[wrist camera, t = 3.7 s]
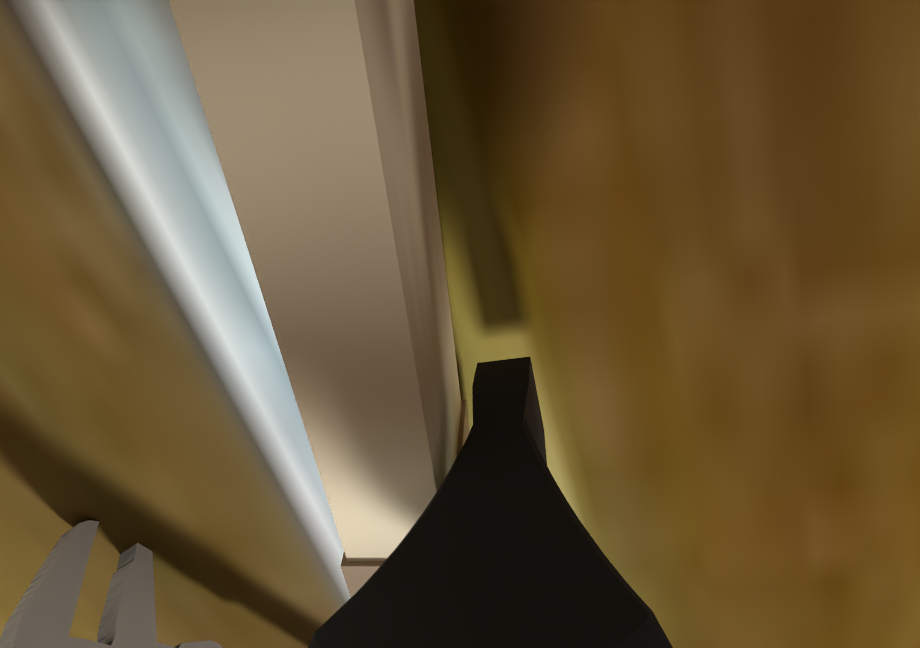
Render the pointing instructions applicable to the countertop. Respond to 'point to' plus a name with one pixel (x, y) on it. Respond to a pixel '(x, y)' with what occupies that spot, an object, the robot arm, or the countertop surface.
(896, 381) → the countertop surface
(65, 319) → the countertop surface
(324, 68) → the gate
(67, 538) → the caliper
